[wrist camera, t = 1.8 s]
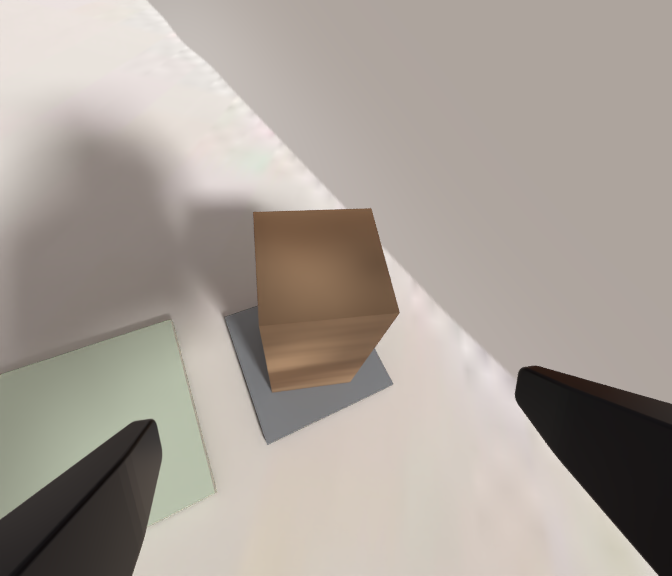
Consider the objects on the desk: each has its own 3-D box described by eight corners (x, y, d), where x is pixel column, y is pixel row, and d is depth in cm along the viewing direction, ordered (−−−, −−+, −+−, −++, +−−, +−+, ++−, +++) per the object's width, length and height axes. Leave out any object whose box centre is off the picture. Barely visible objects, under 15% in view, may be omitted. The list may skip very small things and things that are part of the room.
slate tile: (391, 385, 20) (393, 383, 20) (267, 444, 18) (267, 444, 17) (337, 281, 23) (337, 278, 23) (225, 319, 21) (224, 316, 21)
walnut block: (349, 382, 20) (399, 312, 11) (272, 392, 19) (259, 326, 10) (337, 312, 22) (371, 208, 13) (267, 319, 21) (253, 211, 12)
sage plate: (217, 492, 16) (215, 493, 16) (-30, 615, 13) (-40, 620, 13) (172, 322, 20) (170, 319, 20) (-26, 387, 17) (-33, 385, 17)
